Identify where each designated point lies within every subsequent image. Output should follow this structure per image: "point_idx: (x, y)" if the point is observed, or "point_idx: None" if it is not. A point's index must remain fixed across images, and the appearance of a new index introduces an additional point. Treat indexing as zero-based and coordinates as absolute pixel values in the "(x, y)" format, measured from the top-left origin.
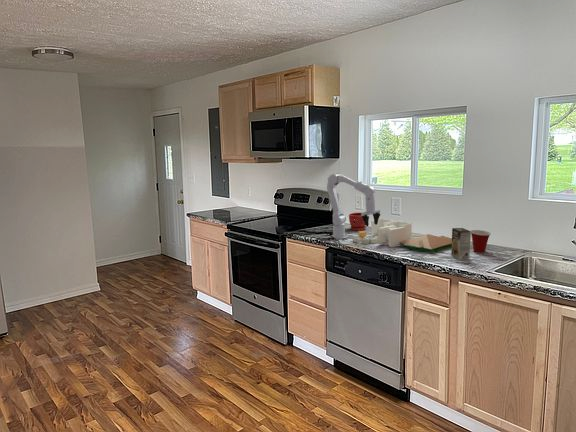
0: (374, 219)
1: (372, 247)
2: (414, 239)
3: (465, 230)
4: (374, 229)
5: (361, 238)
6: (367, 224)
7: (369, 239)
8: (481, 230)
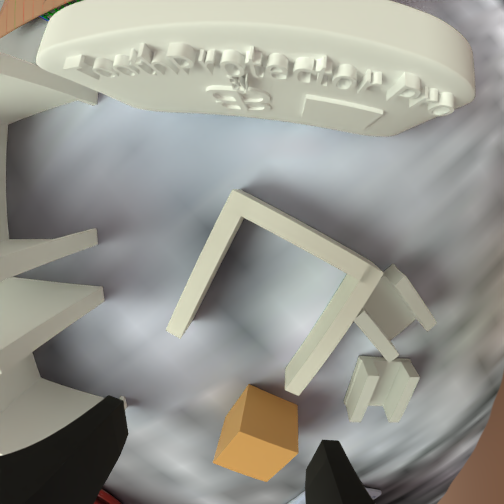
0: (93, 492)
1: (465, 141)
2: None
3: None
4: None
5: (367, 373)
6: (349, 466)
7: (373, 278)
8: None
